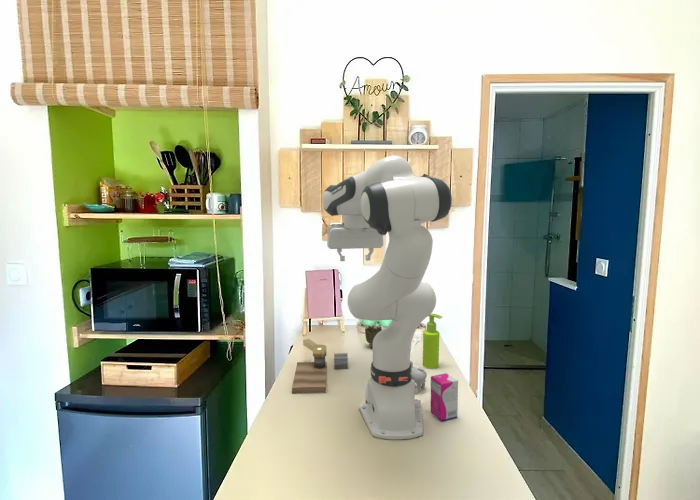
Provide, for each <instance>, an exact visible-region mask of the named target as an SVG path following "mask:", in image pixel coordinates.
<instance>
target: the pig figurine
mask: <svg viewBox="0 0 700 500" xmlns="http://www.w3.org/2000/svg"><path fill="white" fill-rule="evenodd" d="M410 364H411V368H412V379H413V380H414V381H415V385H416V390H418V394H420V392H421V390H423V389H424V390H425V387H426V382H427V381H426V379H427V375H428V374H427V371H425V369H424V368H422V367H420V366H418V367H416V366H414V363H413V361H412V360H411V359H410Z"/></svg>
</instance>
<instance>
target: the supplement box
mask: <svg viewBox="0 0 700 500" xmlns="http://www.w3.org/2000/svg"><path fill="white" fill-rule="evenodd" d="M458 394H459V380H458V379H457V378H455V377H453V376H452V375H451V374H449V373H447V372H445V373H440V374H436V375H435V374H434V375H431V376H430V413H431V414H432V415H433V416H434V417H435V418H436V419H437V420H439V421H440V423H444V422H446V421H450V420H454V419H458V415H459V414H458V412H459V411H458V409H459V405H458V404H459V403H458V402H459V401H458V399H459V398H458V397H459V395H458Z"/></svg>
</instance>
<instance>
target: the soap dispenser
mask: <svg viewBox="0 0 700 500" xmlns="http://www.w3.org/2000/svg"><path fill="white" fill-rule="evenodd" d="M435 318H437V319H439V320H441V319H443V315H440V314H436V313H431V314H430V315H429V316H428V319H429V321H427V322H426V329H425V330H423V331H422V333H423V334H422V335H423V337H422V338H423V339H422V366H423V367H424V368H426V369H432V370H434V369H438V368H439V363H440V362H439V358H440V357H439V355H440V353H439V352H440V331H438V330H437V322H435Z"/></svg>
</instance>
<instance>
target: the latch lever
mask: <svg viewBox="0 0 700 500" xmlns="http://www.w3.org/2000/svg"><path fill="white" fill-rule="evenodd" d="M302 344H303V346H304V347H305V348H307V349H308V350H309V351H311V352H312V357H313V358H314V357H316V358H322V357H325V358H326V357H327V354H328V353H327V345H325V344H318V343H316V342H315V341H313V340H311V339H310V338H305V339H303V340H302Z"/></svg>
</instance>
